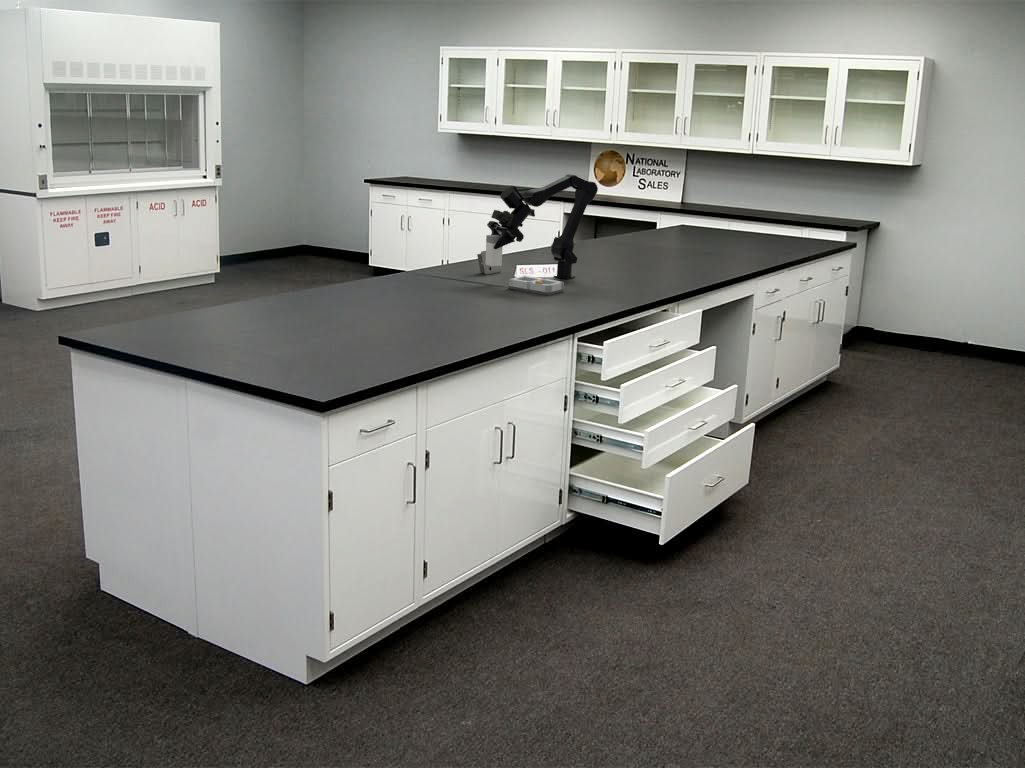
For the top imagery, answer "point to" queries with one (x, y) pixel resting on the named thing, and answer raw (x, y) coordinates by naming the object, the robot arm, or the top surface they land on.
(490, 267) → the electrical switch
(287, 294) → the top surface
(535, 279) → the white rectangular frame
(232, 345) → the top surface
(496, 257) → the grey tall block
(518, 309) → the top surface
